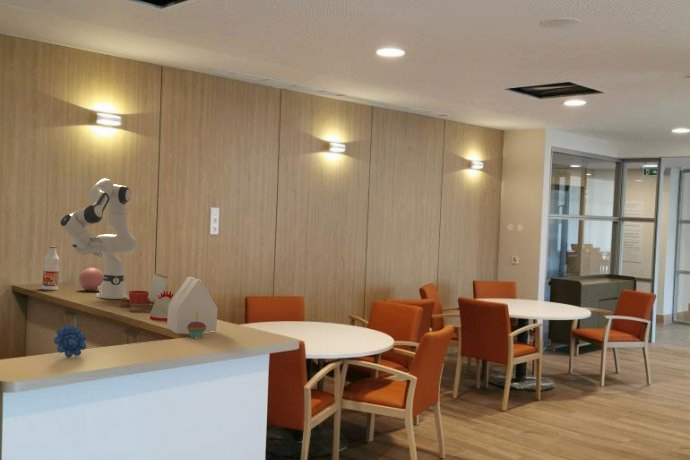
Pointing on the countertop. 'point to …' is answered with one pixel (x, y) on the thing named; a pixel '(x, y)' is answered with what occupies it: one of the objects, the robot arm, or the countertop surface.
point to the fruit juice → (51, 270)
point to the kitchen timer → (161, 307)
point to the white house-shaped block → (192, 307)
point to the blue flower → (70, 341)
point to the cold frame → (138, 305)
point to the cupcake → (196, 328)
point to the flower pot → (138, 297)
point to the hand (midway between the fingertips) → (100, 256)
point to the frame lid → (157, 286)
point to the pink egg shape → (91, 279)
